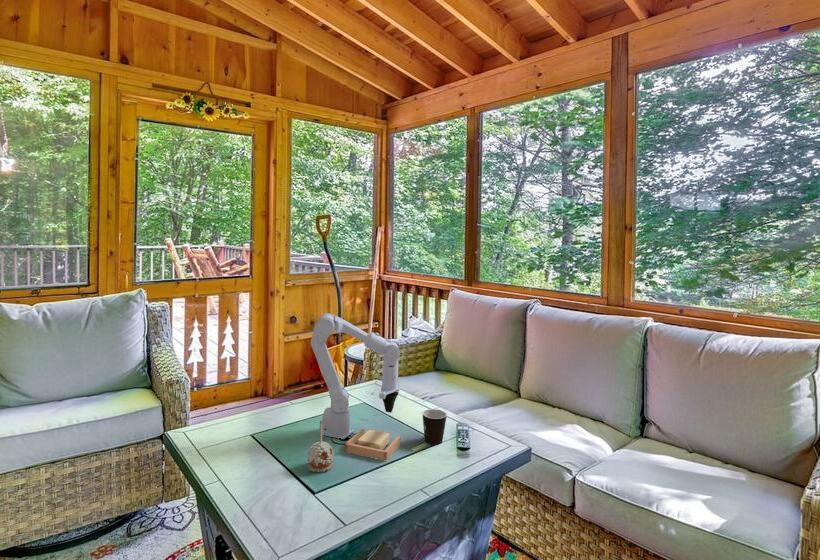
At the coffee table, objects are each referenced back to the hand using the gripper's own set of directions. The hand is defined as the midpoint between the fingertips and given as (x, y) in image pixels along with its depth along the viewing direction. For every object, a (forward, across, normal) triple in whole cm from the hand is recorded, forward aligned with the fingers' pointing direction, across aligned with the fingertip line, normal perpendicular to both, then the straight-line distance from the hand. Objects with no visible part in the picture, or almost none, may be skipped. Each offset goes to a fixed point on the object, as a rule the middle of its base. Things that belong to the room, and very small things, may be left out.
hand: (388, 411), depth 169 cm
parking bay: (+8, -13, 0) cm, 15 cm away
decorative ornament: (+8, -31, +10) cm, 34 cm away
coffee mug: (+8, +2, -17) cm, 19 cm away
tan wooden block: (+8, -13, 0) cm, 15 cm away
